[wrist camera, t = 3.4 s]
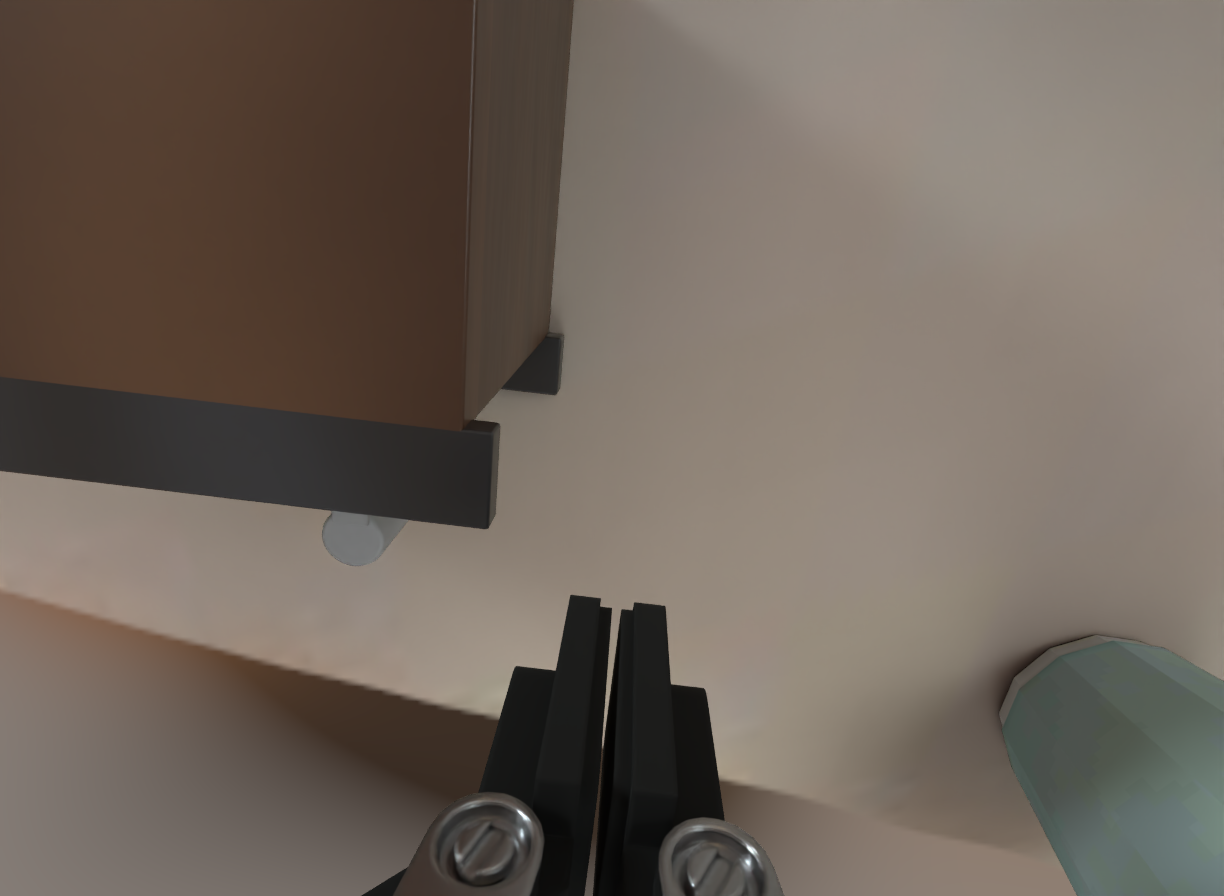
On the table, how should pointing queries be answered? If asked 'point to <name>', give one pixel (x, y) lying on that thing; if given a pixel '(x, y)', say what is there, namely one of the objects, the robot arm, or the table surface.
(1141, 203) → the table surface
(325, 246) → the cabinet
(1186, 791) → the disposable coffee cup
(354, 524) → the pale green block
